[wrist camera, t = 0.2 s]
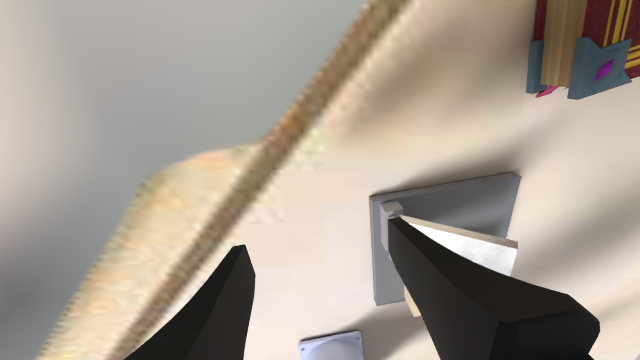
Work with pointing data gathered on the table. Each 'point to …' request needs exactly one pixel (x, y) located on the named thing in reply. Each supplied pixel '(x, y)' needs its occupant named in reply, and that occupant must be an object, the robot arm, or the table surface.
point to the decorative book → (584, 46)
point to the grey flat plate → (470, 244)
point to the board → (438, 221)
